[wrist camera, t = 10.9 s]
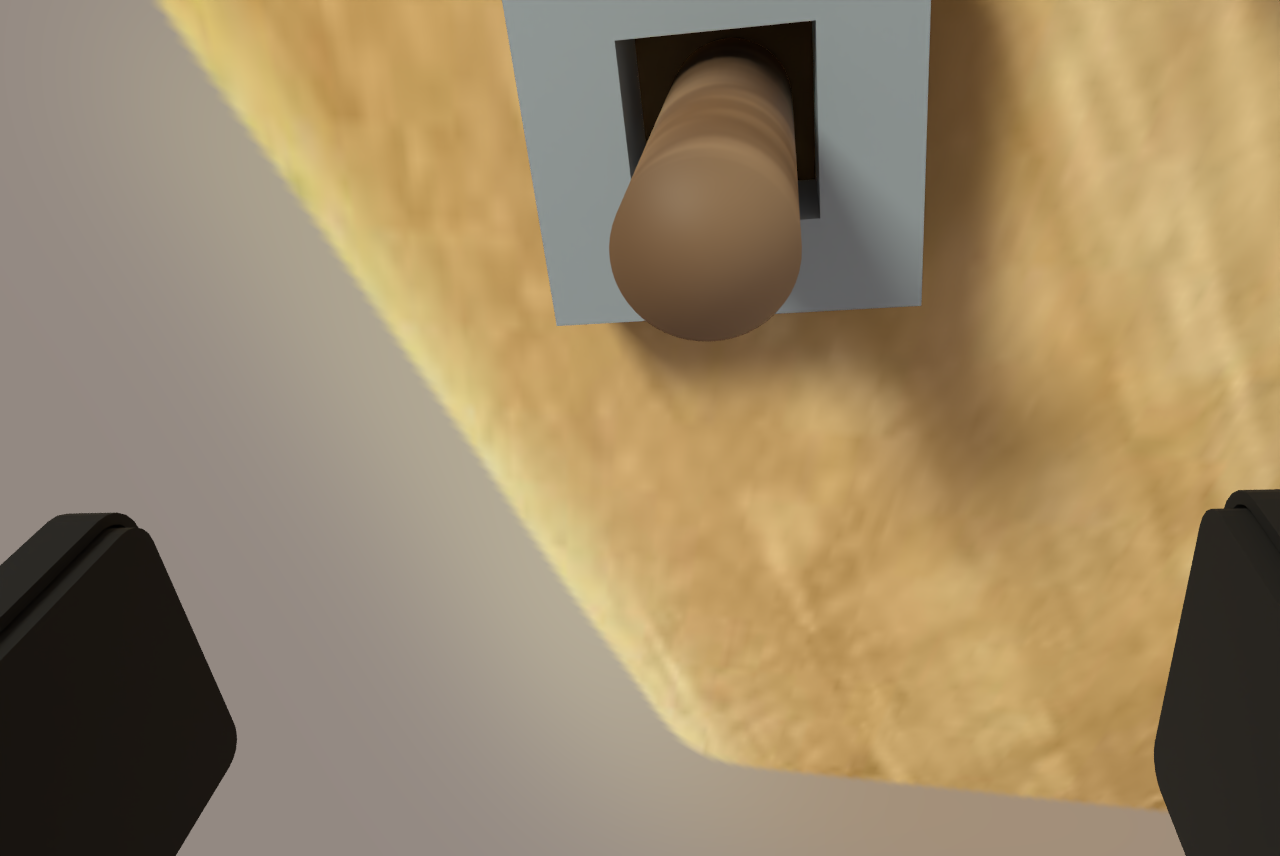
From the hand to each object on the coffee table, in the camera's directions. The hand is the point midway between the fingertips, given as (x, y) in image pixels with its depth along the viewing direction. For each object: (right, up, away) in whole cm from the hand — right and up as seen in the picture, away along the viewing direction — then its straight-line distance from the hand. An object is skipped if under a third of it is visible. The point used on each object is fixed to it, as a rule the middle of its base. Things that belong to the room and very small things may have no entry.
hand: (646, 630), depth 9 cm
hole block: (+2, +11, +19) cm, 22 cm away
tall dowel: (+2, +11, +19) cm, 22 cm away
